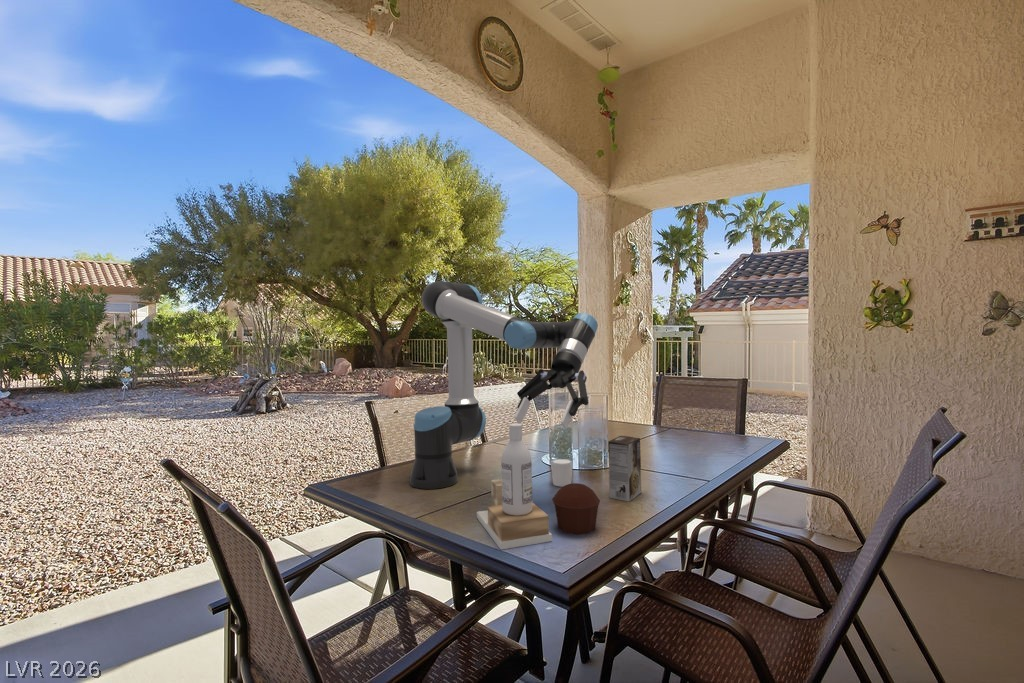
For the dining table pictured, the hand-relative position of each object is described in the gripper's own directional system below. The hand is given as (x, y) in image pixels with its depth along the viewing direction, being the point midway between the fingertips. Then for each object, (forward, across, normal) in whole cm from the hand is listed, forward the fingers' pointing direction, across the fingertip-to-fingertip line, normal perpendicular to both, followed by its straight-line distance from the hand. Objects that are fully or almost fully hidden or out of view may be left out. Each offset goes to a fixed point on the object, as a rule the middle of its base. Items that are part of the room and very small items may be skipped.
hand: (539, 422), depth 119 cm
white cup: (-3, +11, -38) cm, 40 cm away
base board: (+23, +3, -12) cm, 26 cm away
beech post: (+19, +8, -13) cm, 25 cm away
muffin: (+16, -9, -18) cm, 26 cm away
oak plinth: (+23, 0, -9) cm, 25 cm away
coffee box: (-4, -9, -38) cm, 40 cm away
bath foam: (+21, 0, -6) cm, 22 cm away
